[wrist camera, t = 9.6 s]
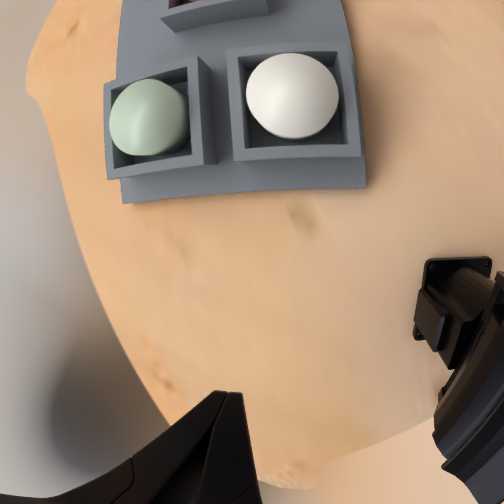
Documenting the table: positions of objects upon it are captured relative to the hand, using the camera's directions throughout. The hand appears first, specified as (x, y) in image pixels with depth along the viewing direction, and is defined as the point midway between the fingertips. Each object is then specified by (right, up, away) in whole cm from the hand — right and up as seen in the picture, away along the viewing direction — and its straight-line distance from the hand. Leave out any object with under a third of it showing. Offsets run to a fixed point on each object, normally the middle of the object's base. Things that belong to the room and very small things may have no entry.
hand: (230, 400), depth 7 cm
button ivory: (+3, +13, +7) cm, 15 cm away
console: (-1, +18, +7) cm, 19 cm away
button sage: (-5, +13, +8) cm, 16 cm away
